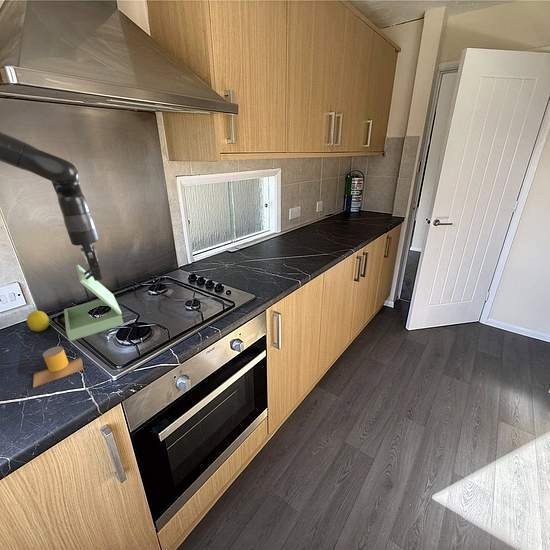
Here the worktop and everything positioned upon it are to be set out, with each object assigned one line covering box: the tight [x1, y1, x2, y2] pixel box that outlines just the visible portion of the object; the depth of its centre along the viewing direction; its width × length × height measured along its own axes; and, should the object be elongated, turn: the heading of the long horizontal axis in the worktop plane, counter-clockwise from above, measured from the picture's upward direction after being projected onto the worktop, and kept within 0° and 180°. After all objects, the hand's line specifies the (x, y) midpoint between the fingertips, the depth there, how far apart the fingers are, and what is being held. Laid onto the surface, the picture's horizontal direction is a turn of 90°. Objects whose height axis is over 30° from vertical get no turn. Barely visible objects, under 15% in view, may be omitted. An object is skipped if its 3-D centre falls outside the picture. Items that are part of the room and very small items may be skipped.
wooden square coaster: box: [32, 356, 84, 388], centre depth 81 cm, size 11×11×1 cm
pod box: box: [63, 299, 125, 342], centre depth 101 cm, size 16×18×4 cm
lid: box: [75, 263, 123, 315], centre depth 100 cm, size 16×18×6 cm
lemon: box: [26, 310, 50, 332], centre depth 96 cm, size 6×6×8 cm
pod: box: [42, 345, 69, 372], centre depth 80 cm, size 5×5×5 cm
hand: (97, 276), depth 98 cm, fingers closed on lid, 6 cm apart
